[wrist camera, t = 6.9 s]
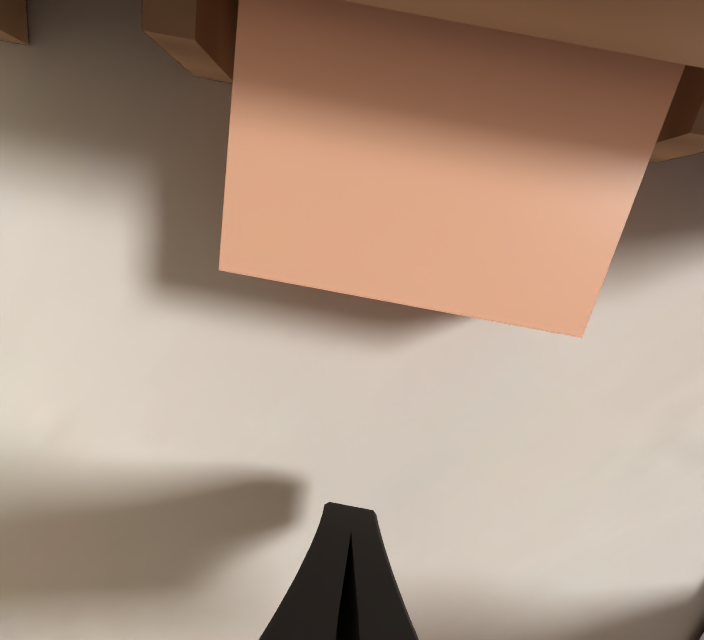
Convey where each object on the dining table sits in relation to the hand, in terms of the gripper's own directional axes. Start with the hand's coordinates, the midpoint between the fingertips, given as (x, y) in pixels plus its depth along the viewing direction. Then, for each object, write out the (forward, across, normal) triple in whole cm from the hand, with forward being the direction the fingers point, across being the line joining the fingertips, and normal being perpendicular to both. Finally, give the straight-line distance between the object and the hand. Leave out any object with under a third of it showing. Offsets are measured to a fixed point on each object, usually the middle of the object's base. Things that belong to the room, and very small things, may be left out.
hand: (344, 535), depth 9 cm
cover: (+2, 0, -11) cm, 11 cm away
